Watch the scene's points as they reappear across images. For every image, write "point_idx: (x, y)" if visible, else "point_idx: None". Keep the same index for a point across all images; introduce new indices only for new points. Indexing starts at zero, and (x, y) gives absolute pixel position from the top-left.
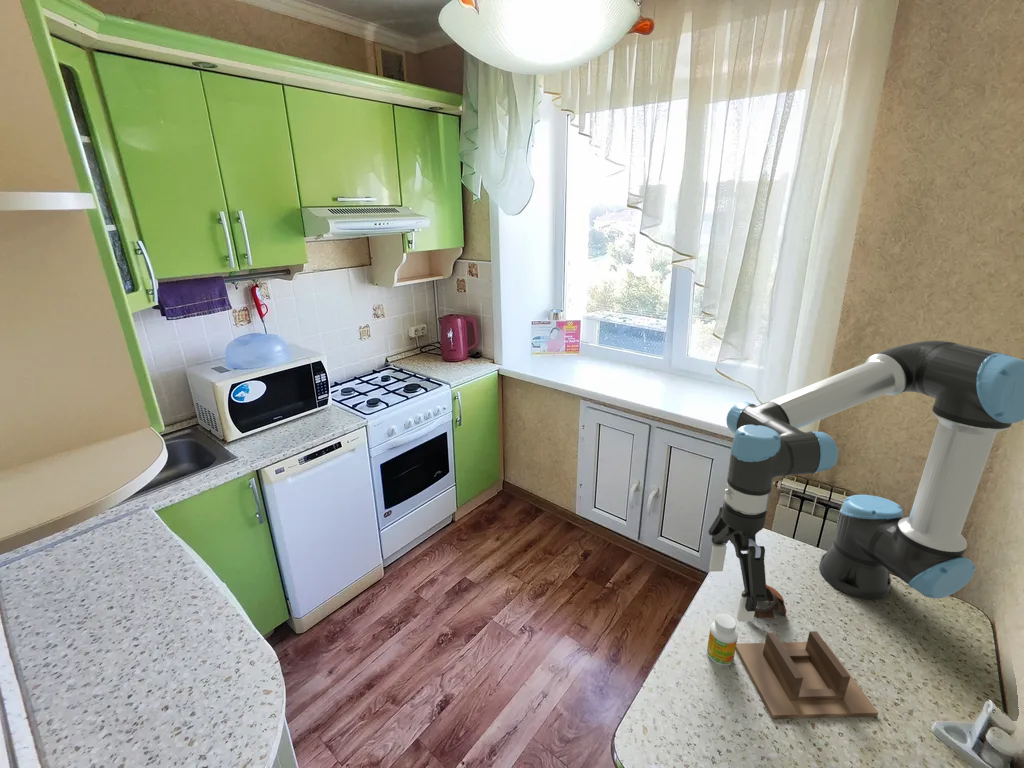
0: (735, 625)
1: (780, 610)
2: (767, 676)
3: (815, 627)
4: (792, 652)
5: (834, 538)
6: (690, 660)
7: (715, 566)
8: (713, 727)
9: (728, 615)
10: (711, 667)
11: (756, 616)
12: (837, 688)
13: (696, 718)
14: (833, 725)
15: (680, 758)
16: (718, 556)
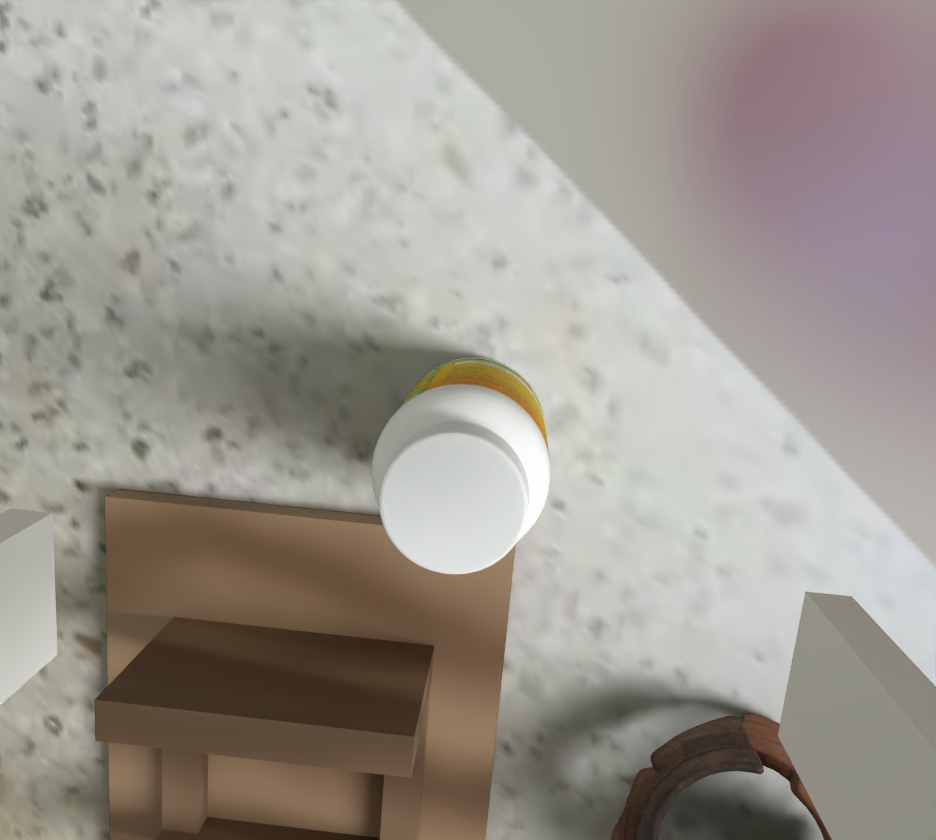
0: (403, 553)
1: None
2: (302, 591)
3: None
4: (404, 791)
5: None
6: (461, 241)
7: (825, 687)
8: (82, 185)
9: (499, 552)
10: (406, 340)
11: (658, 755)
12: None
13: (127, 116)
14: (88, 723)
15: None
16: (900, 828)
